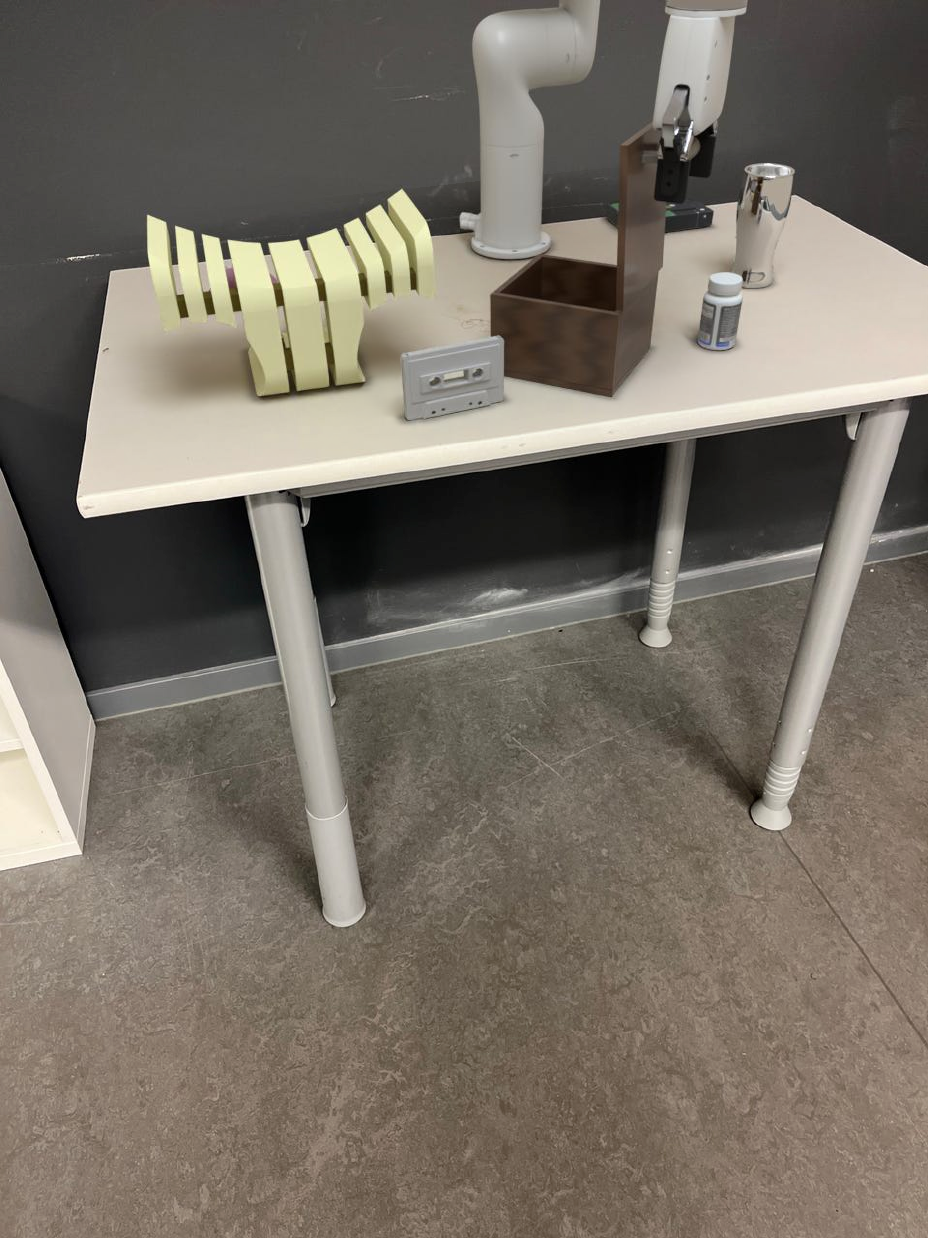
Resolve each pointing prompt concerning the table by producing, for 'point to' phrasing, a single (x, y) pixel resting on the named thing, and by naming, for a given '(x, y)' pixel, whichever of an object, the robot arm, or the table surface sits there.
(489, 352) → the cassette
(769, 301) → the table surface
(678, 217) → the disk drive
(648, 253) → the lid
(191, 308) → the slatted curved stool
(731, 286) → the pill bottle
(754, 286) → the beer glass
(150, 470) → the table surface
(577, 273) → the chest
